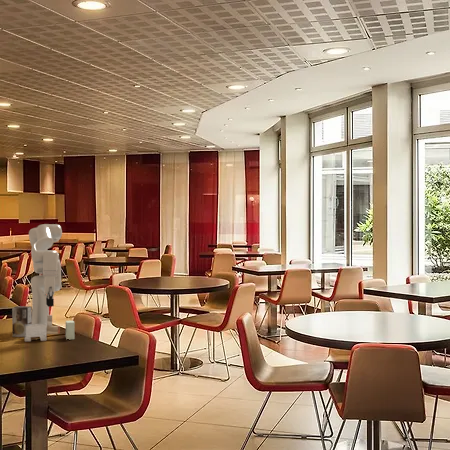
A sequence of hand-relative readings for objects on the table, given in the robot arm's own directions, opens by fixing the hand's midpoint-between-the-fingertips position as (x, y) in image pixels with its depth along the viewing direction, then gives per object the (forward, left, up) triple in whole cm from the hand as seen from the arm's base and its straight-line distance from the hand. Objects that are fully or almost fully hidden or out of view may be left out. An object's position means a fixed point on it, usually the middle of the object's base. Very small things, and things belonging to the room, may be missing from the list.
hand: (49, 305), depth 356 cm
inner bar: (0, -3, -15) cm, 15 cm away
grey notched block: (0, -7, -18) cm, 19 cm away
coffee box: (-16, -14, -18) cm, 28 cm away
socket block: (0, +11, -18) cm, 21 cm away
